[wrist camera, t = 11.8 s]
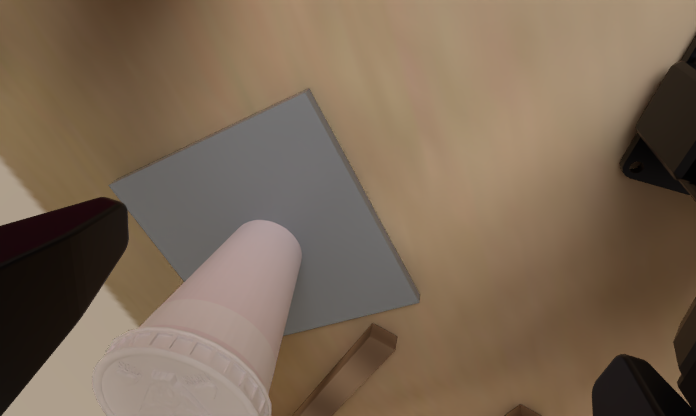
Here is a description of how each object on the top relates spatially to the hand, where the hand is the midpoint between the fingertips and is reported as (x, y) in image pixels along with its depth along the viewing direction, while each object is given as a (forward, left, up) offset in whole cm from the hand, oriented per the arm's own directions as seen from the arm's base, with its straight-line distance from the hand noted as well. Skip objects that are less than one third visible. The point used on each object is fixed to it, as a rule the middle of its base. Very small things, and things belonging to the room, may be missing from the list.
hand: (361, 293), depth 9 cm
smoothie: (+5, +10, -13) cm, 17 cm away
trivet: (+5, +10, -13) cm, 17 cm away
